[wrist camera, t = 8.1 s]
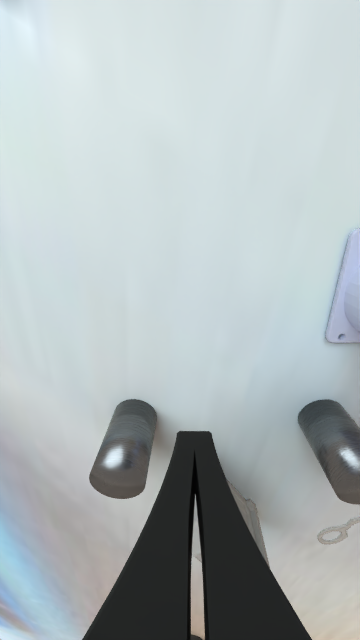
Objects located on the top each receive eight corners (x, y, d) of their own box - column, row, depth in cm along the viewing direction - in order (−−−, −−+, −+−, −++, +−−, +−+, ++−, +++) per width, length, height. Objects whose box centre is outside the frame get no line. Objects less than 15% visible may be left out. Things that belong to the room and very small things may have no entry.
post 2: (349, 399, 20) (408, 467, 15) (338, 432, 22) (388, 505, 16) (302, 399, 20) (343, 466, 15) (294, 432, 22) (329, 503, 16)
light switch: (242, 508, 27) (260, 612, 20) (184, 448, 24) (182, 548, 16) (255, 504, 27) (279, 608, 20) (199, 441, 23) (203, 542, 16)
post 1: (154, 399, 21) (142, 463, 16) (158, 431, 23) (147, 499, 17) (111, 399, 21) (84, 462, 16) (117, 430, 23) (94, 498, 17)
